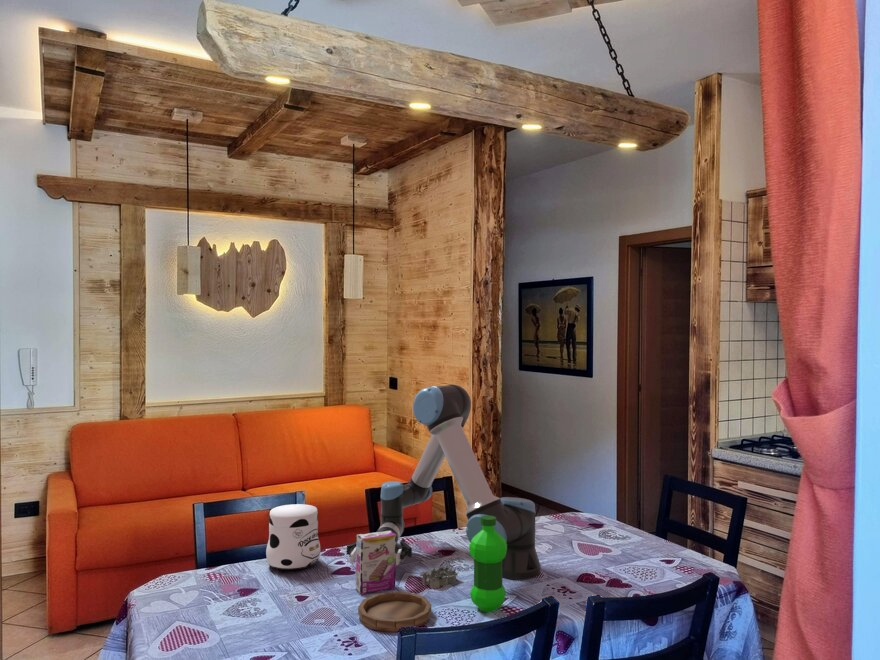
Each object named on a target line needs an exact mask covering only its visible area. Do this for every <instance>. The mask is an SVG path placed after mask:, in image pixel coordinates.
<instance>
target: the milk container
mask: <svg viewBox="0 0 880 660" xmlns="http://www.w3.org/2000/svg"><path fill="white" fill-rule="evenodd" d="M268 517H269V518H268V520H269V524H268V532H269V533H268V534H269V535H268V541H267V544H266V550H265V555H266V561H267V563H268V565H269V566H270V567H271V568H273V569H276V570H279V571H298V570H304V569H307V568H311V567H312V566H315V564H317V563H318V562H319V559H320V556H321V543H320V540H319V532H318V531H319V530H318V528H319V513H318V508H317V506H314V505H312V504H302V503H296V504H284V505H280V506H279V505H278V506H276V507H273V508H271V510H270V511H269V516H268Z"/></svg>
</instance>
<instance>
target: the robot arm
mask: <svg viewBox="0 0 880 660" xmlns="http://www.w3.org/2000/svg"><path fill="white" fill-rule="evenodd" d="M471 409H472V399H471V397H470V395H469V392H468V391H467V390H466V389H465V388H464V387H463V386H460V385H457V384H446V385H440V386H439V385H437V386H435V385H433V386H429V387H425V388H422V389H420V390H419V391H418V392H417V394H416V395H415V397H414V401H413V403H412V412H413V415H414V418H415V420H416V421H417V422H418V423H420V424H421V425H425V426H426V427H427V430H428V432H429V434H430V435H431V436H430V437H429V440H428V442H427V445H426V446H425V448H424V450H423V452H422V454H421V457H420V458H419V461H418V463H417V465H416V467H415V470H414V471H413V473H412V475H411V478H410V479H409V481H408V483H405V484H403V483H402V482H401V481H395V480H394V481H385V482H383V483H382V484H381V487H380V488H381V489H380V526H379V528H378V529H377V531H376V532H383V531H392V532H393V533H395V534H396V566H399V564H400V562H401V560H404V559H405V558H406V556H407V557H408V558H412V556H413V548H412V546H410V545H409V544H408V543H407V542H406V539H403V538H402V539H401V540H400V538H401V536H402V535H403V533H404V531H405V522H404V519H403V518H404V517H403V516H404V509H405V508H408V507H411V506H414V505H417V504H421V503H424V502H426V501H428V500H429V499H431V497H432V495H433V487H432V485H433V482H434V481H435V478H436V476H437V474H438V472H439V470H440V468H441V466H442V464H443V462H444V460H445V459H446V461H447V463H448V466H449V468H450V469H451V472H452V475H453V477H454V479H455V482H456V484H457V486H458V488H459V490H460V492H461V494H462V497H463V499H464V502H465V504H466V505H467V508H466V512H465V516H466V518H467V523H466V525H465V527H466V528H465V533H466V537H467V539H468V541H469V542H470V543H471V540H472V538H473V537H474V536H475V535H476V534H477V533H479V532H480V531H481V530H483V525H481V516H494V517H496V525H494V530H495V531H496V532H497V533H499V534H500V535H501V536H502V537H503V538H504V539H505V540H506V543H507V552H506V555H505V558H504V559H503V560H502V578H504V579H511V580H530V579H533V578H537V577H538V576H540V575H541V568H542V566H541V563H540V559H539V556H538V552H537V549H536V514H537V513H536V504H535V502H534V501H532V500H530V499H528V498H523V497H522V498H521V497H509V496H505V497H499V496H495V495H494V494H493V492H492V490H491V488H490V485H489V483H488V481H487V479H486V477H485V475H484V472H483V470H482V468H481V466H480V464H479V461H478V459H477V457H476V455H475V453H474V450H473V448H472V447H471V446H472V445H471V444H470V441H469V440H468V438H467V434H465V433H466V432H465V430H464V429H463V428H464V427H465V425H466V423H467V421H468V418H469V417H470V412H471ZM470 543H469V544H470ZM346 555H348V556H349V562H350V564H351V565H352V564H354V563H355V562H356V541H355V542H352V543H350V544H347V545H346Z"/></svg>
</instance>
